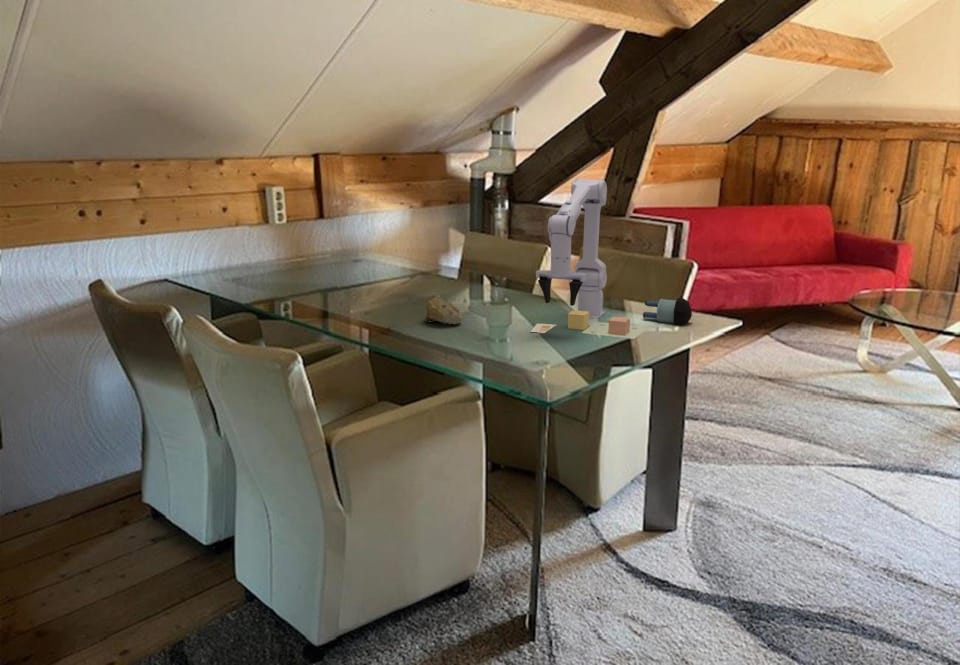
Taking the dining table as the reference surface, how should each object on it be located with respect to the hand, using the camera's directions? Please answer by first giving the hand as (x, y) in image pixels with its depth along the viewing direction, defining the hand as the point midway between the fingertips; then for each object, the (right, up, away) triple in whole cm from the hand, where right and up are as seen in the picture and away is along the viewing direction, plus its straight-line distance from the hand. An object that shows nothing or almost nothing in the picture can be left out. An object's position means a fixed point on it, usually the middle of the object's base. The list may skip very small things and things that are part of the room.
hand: (560, 303), depth 214 cm
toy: (+35, -6, +16) cm, 39 cm away
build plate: (+17, -8, +8) cm, 20 cm away
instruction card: (-3, -7, +11) cm, 14 cm away
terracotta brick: (+18, -8, +5) cm, 20 cm away
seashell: (-35, -6, +20) cm, 40 cm away
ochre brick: (+7, -7, +12) cm, 15 cm away
